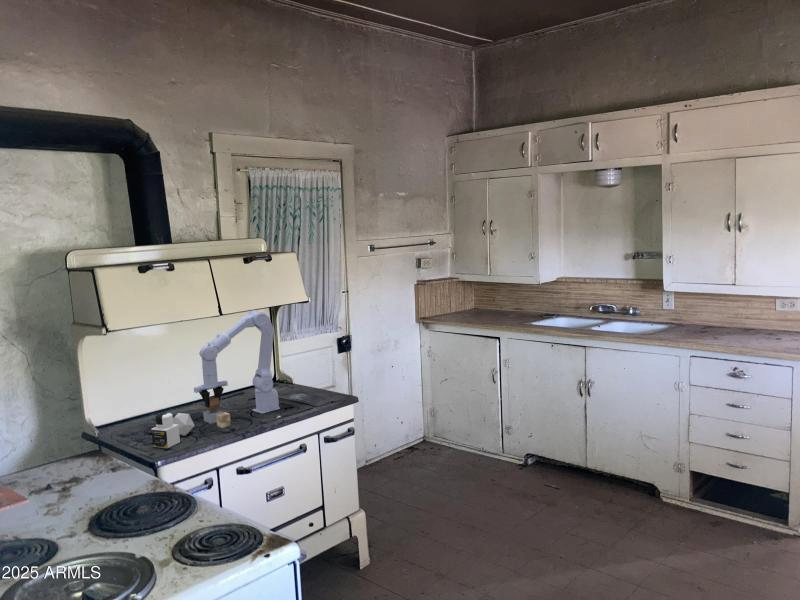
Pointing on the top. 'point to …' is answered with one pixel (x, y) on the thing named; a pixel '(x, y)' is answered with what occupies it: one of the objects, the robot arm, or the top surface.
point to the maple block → (223, 420)
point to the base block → (211, 416)
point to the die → (183, 423)
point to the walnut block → (213, 404)
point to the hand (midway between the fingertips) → (212, 405)
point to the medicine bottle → (165, 431)
